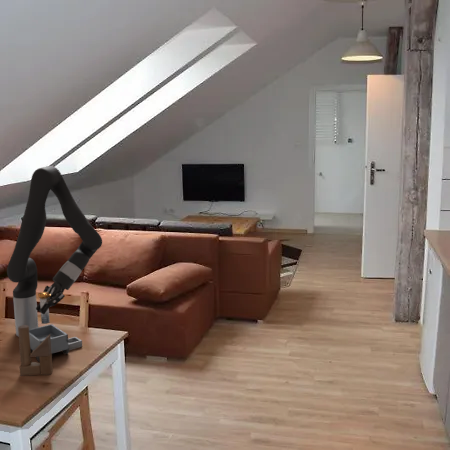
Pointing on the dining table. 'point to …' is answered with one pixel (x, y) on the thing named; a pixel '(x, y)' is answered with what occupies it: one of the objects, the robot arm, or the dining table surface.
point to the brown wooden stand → (34, 354)
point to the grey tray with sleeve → (53, 339)
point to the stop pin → (43, 299)
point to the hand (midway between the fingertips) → (39, 311)
